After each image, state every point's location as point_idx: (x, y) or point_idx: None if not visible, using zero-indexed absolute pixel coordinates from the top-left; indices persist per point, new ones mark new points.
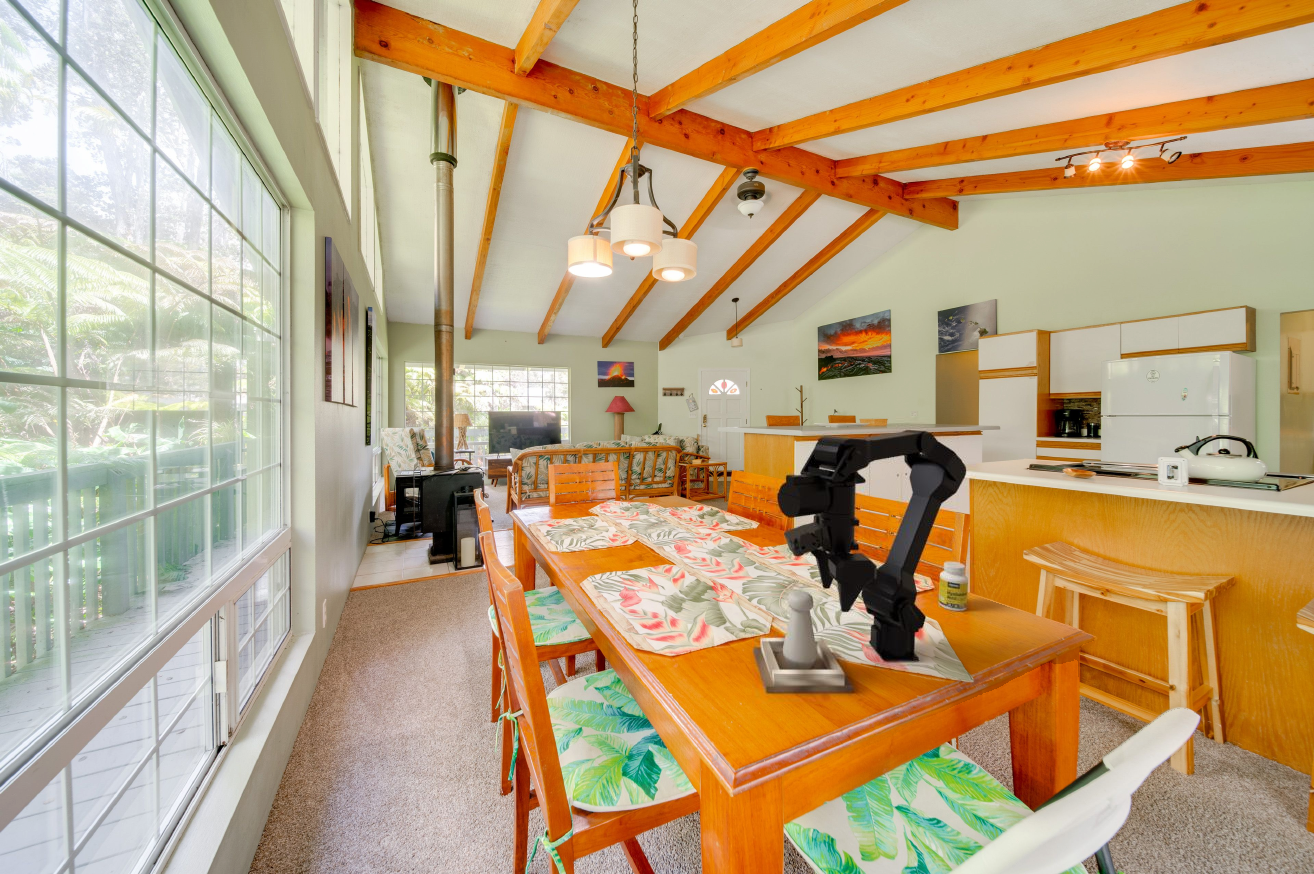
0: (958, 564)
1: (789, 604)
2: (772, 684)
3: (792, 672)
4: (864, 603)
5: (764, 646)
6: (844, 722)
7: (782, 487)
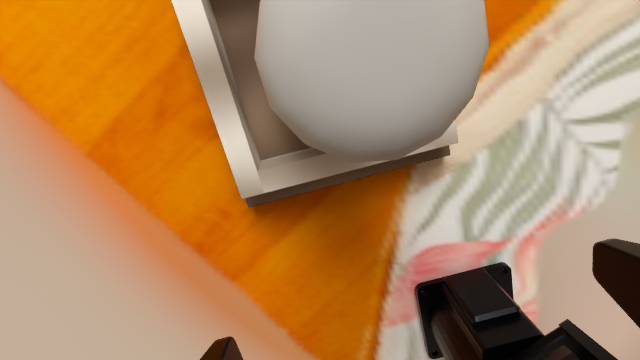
0: None
1: None
2: None
3: (189, 25)
4: (567, 352)
5: None
6: (112, 170)
7: None
